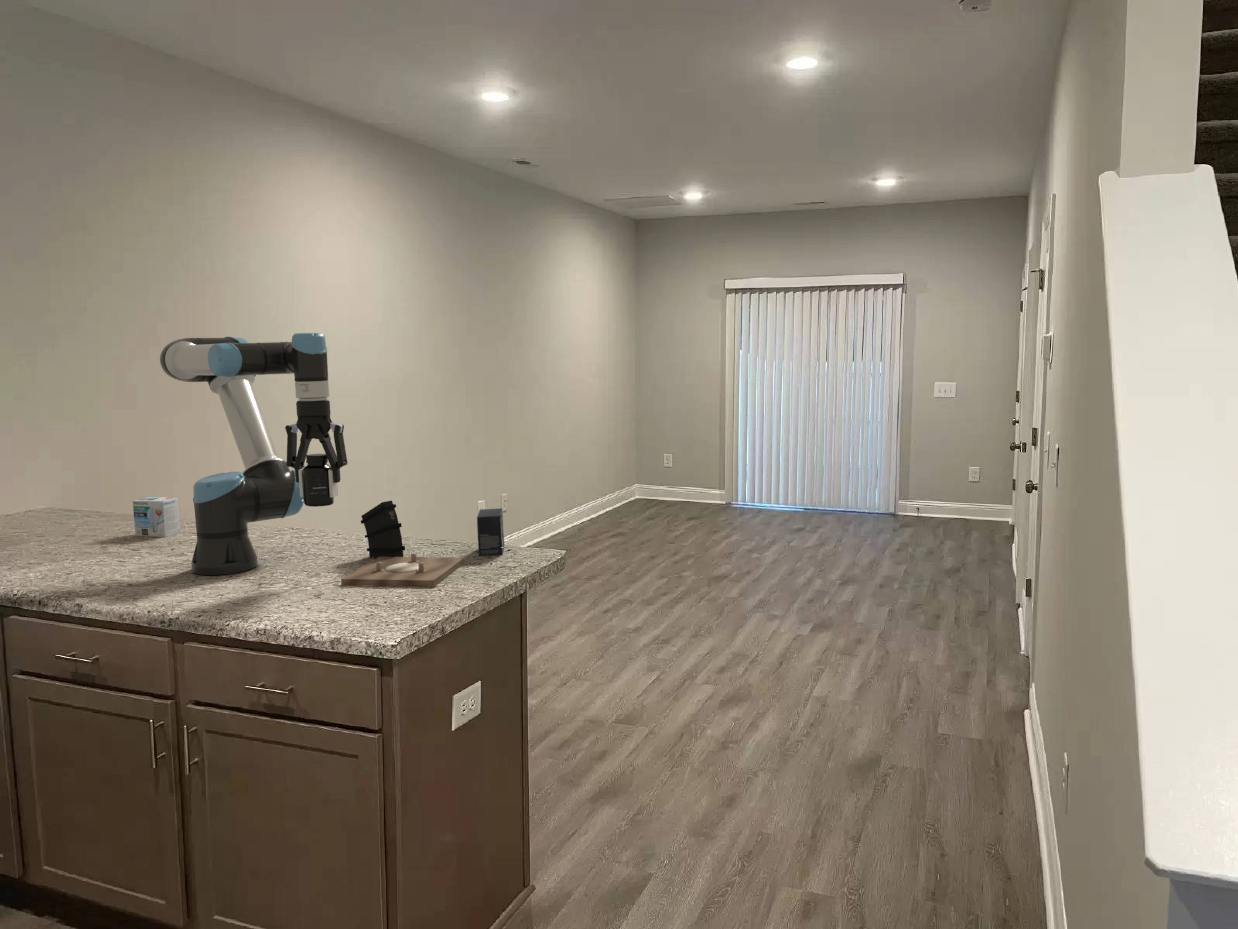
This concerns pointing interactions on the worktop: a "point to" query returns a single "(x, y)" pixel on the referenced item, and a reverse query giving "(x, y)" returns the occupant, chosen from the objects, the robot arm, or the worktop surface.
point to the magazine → (383, 531)
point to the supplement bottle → (316, 481)
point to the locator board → (403, 571)
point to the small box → (490, 532)
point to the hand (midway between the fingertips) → (319, 496)
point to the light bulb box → (156, 516)
